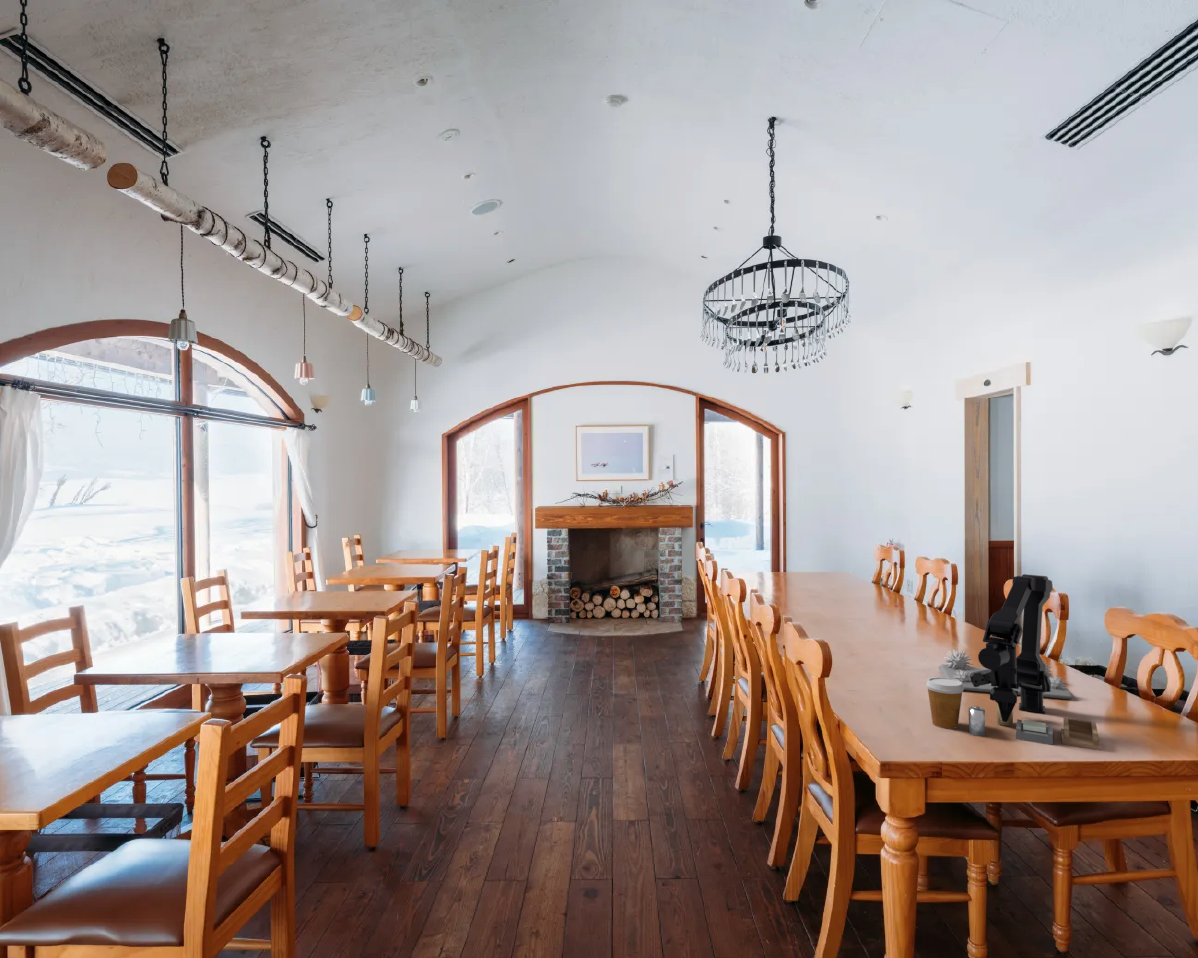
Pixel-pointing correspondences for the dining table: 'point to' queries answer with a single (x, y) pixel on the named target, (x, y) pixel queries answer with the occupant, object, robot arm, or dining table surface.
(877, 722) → the dining table surface
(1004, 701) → the robot arm
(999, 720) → the cell bronze
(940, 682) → the disposable coffee cup
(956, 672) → the decorative tray
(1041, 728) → the checker pad
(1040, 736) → the base
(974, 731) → the cell steel
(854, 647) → the dining table surface
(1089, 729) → the wooden open box
